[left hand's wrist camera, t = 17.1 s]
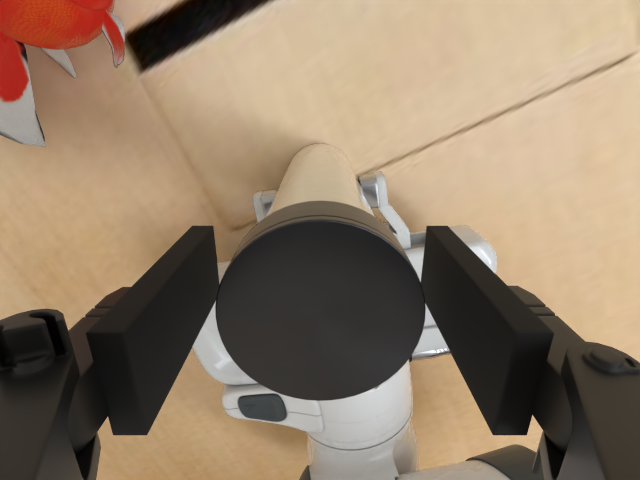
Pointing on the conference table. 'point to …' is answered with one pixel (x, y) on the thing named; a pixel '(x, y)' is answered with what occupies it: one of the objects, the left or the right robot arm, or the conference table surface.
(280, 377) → the lid
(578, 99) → the conference table surface
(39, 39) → the fish
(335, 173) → the jar
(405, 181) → the conference table surface
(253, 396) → the right robot arm
